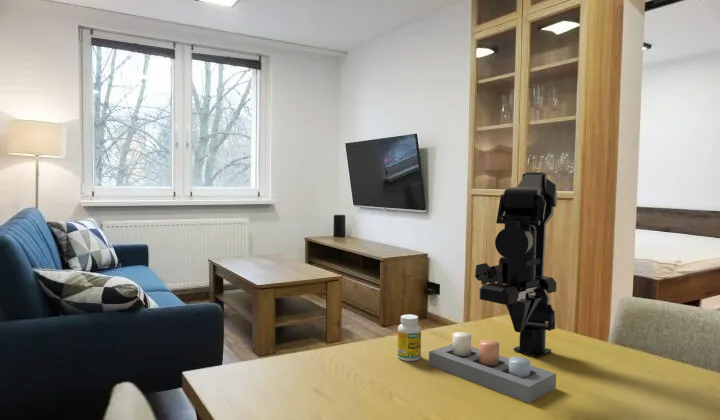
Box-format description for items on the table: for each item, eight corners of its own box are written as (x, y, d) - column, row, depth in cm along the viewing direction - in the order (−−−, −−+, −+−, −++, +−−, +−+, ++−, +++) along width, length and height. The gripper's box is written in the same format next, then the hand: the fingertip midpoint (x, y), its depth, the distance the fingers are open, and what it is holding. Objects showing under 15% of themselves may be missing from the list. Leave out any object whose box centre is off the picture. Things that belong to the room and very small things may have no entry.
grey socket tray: (457, 354, 111) (457, 342, 111) (555, 388, 93) (556, 373, 93) (428, 364, 105) (429, 351, 105) (528, 403, 87) (529, 386, 86)
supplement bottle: (410, 352, 113) (411, 312, 113) (425, 358, 109) (426, 317, 108) (392, 356, 110) (393, 315, 110) (407, 363, 106) (407, 320, 105)
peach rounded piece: (486, 357, 102) (486, 338, 101) (502, 362, 99) (503, 343, 98) (475, 361, 99) (475, 342, 99) (491, 366, 96) (491, 347, 96)
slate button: (515, 374, 96) (515, 355, 96) (533, 381, 93) (534, 361, 93) (504, 379, 94) (504, 359, 94) (522, 386, 91) (523, 365, 91)
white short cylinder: (459, 348, 107) (460, 330, 107) (474, 353, 104) (475, 335, 104) (448, 352, 104) (448, 334, 104) (463, 357, 101) (463, 338, 101)
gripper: (509, 245, 105) (508, 315, 106) (457, 252, 93) (455, 331, 93) (558, 250, 97) (556, 326, 97) (507, 259, 84) (505, 345, 85)
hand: (518, 331), depth 93 cm, fingers closed
